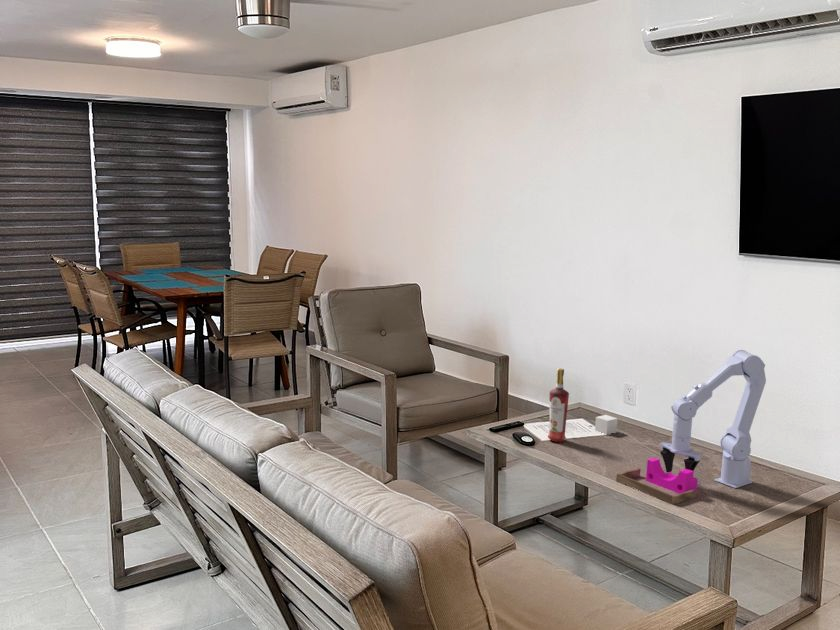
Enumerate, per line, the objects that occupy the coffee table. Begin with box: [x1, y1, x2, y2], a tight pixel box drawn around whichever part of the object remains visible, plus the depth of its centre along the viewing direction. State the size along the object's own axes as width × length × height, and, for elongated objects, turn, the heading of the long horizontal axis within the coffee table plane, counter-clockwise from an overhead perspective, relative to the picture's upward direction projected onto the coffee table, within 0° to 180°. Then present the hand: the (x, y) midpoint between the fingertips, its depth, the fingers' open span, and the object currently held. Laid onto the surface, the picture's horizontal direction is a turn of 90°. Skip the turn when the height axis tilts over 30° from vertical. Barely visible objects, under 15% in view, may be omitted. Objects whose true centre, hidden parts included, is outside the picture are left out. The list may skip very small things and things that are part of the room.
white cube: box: [594, 414, 618, 436], centre depth 306 cm, size 6×6×6 cm
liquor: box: [547, 368, 570, 443], centre depth 292 cm, size 7×7×28 cm
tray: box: [615, 467, 697, 505], centre depth 247 cm, size 11×23×2 cm, turn 34°
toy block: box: [645, 457, 699, 494], centre depth 249 cm, size 15×6×8 cm, turn 36°
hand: (678, 475), depth 253 cm, fingers open, 7 cm apart
